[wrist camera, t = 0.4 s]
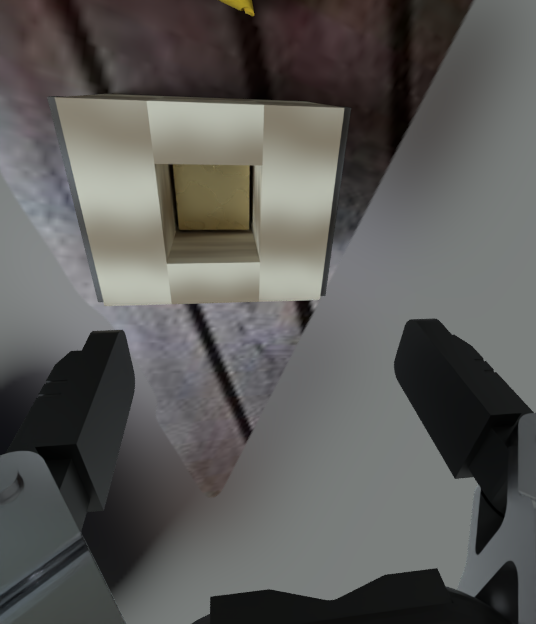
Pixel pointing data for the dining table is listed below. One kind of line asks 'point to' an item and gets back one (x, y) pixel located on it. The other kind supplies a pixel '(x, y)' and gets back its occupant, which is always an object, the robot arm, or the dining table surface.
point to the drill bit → (241, 5)
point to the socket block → (163, 207)
